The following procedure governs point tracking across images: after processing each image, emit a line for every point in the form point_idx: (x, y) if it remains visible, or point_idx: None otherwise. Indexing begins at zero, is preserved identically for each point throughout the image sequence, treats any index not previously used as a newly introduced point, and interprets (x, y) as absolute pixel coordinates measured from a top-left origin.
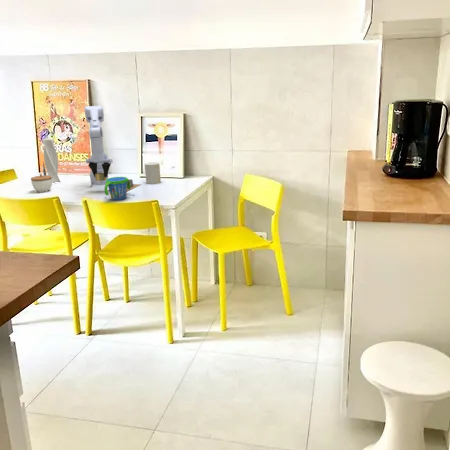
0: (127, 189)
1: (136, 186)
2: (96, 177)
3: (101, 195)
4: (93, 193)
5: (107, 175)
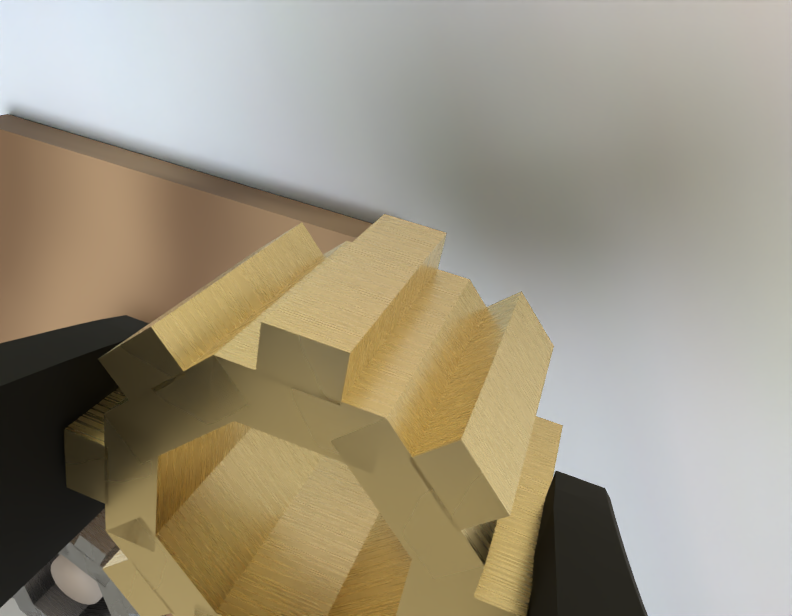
0: (51, 316)
1: None
2: (470, 359)
3: (448, 52)
4: (700, 283)
5: None
